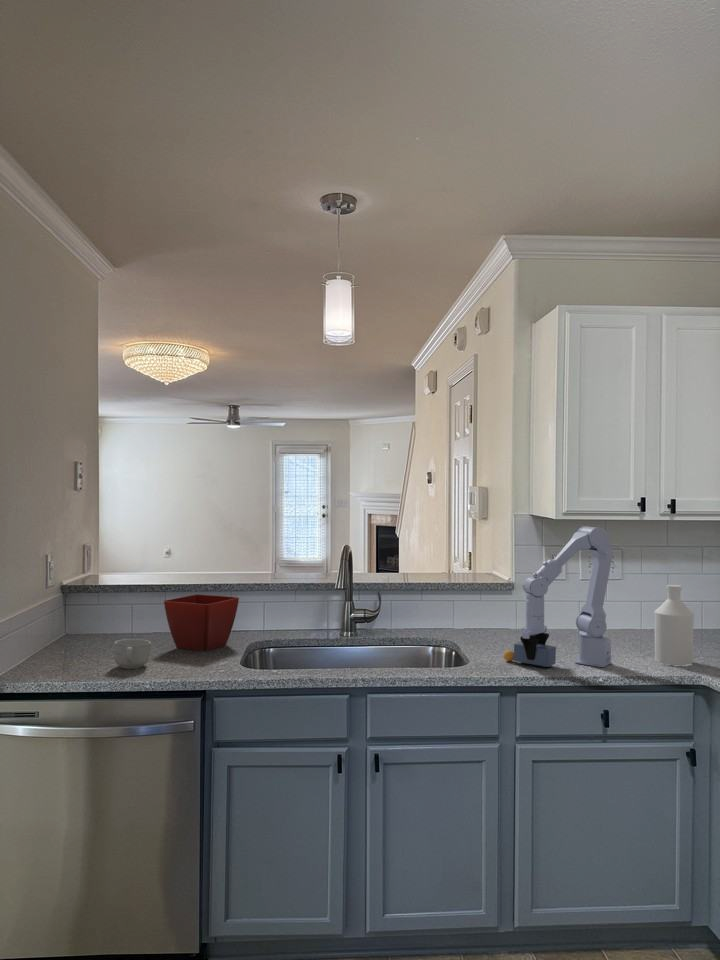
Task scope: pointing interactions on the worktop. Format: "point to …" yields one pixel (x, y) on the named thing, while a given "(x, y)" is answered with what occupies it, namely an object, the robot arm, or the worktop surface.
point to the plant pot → (201, 620)
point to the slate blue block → (536, 655)
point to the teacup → (131, 653)
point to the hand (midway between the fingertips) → (534, 657)
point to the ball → (509, 655)
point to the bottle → (673, 630)
